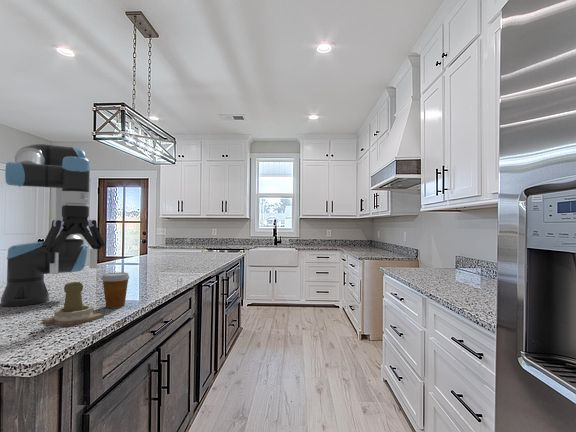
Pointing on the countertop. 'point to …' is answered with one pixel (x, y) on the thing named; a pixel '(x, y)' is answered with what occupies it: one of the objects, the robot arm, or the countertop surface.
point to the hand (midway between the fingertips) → (74, 270)
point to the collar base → (72, 323)
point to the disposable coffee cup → (115, 288)
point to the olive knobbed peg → (73, 297)
